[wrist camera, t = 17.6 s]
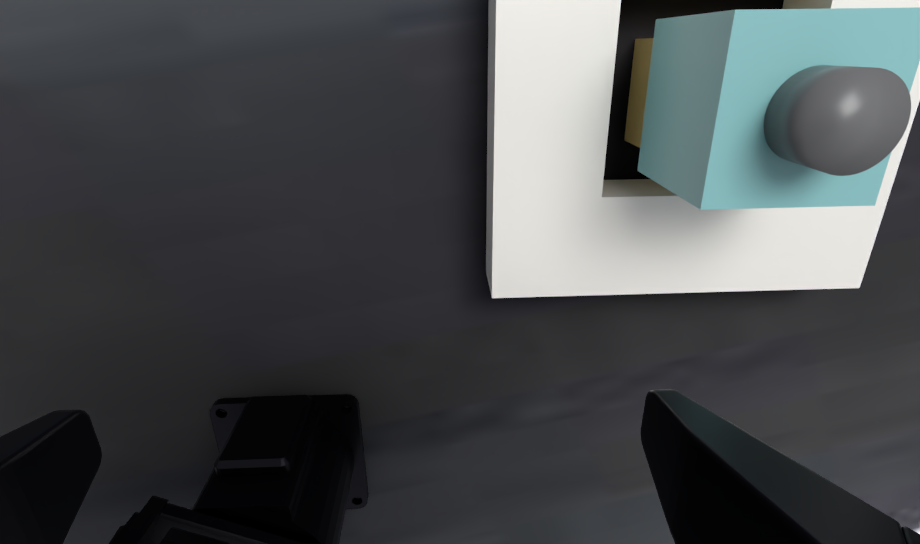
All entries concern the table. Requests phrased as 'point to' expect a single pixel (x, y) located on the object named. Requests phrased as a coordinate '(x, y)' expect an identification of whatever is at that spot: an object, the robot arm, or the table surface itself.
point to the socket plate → (630, 181)
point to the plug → (773, 104)
